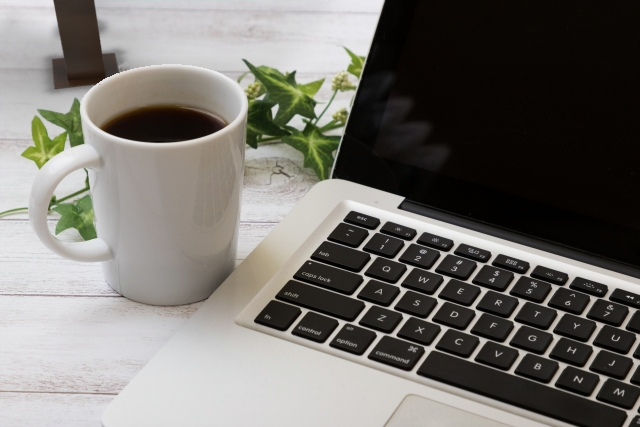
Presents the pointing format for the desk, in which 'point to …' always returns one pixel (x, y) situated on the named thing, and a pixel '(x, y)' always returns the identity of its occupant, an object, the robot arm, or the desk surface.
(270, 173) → the desk surface
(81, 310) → the desk surface
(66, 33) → the brown post on base
